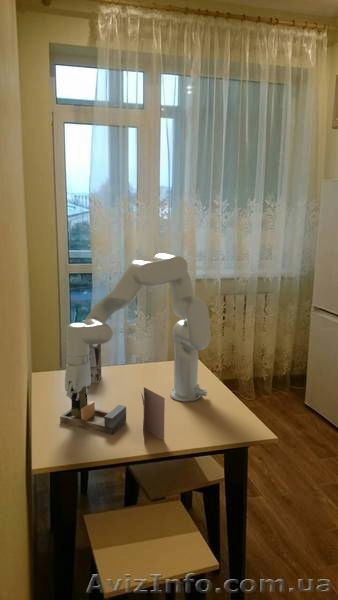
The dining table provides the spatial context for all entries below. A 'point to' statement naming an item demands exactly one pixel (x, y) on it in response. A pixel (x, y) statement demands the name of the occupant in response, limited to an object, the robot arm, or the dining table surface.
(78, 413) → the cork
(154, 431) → the greeting card
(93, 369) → the coffee box
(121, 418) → the lane
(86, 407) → the pusher
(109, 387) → the dining table surface
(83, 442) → the dining table surface
